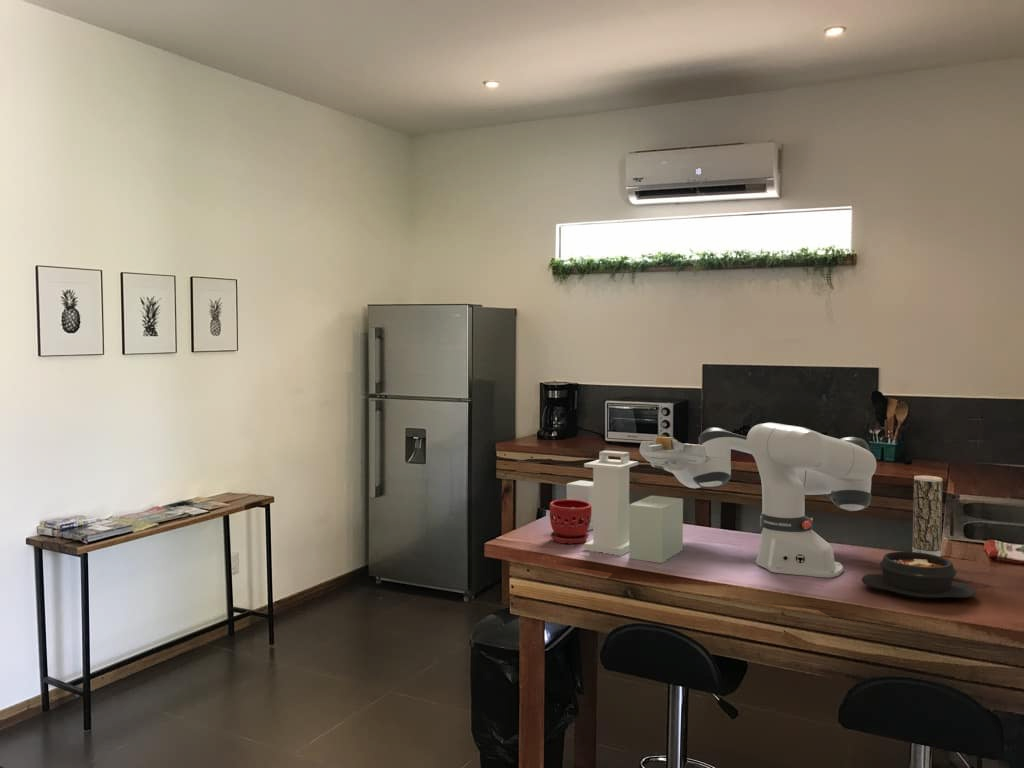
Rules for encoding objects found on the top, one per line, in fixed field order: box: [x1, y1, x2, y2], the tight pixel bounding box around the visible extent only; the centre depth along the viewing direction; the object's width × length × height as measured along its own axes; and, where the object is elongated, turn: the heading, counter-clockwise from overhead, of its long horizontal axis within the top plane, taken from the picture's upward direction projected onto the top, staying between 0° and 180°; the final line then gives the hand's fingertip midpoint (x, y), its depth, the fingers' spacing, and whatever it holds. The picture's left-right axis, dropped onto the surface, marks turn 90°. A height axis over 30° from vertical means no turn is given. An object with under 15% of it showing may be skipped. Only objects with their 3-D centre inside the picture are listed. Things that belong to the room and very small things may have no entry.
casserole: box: [861, 551, 977, 600], centre depth 195 cm, size 25×19×8 cm
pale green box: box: [628, 495, 684, 564], centre depth 231 cm, size 10×16×16 cm, turn 147°
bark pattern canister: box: [912, 475, 943, 557], centre depth 214 cm, size 7×7×25 cm
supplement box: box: [565, 479, 593, 532], centre depth 267 cm, size 9×9×15 cm
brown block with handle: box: [647, 436, 675, 452], centre depth 232 cm, size 4×14×4 cm, turn 147°
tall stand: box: [583, 449, 639, 557], centre depth 238 cm, size 12×12×29 cm
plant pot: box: [549, 499, 592, 545], centre depth 248 cm, size 13×13×12 cm
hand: (664, 441), depth 236 cm, fingers closed on brown block with handle, 4 cm apart
